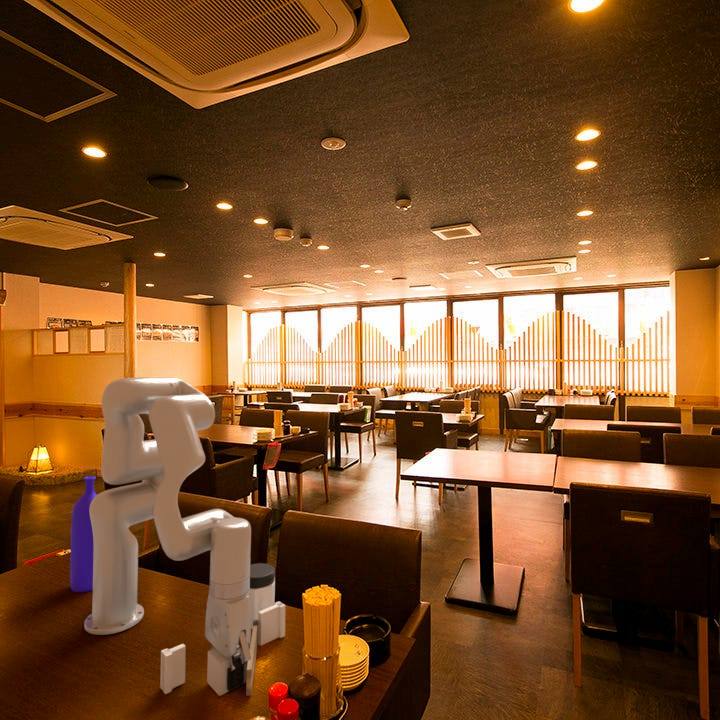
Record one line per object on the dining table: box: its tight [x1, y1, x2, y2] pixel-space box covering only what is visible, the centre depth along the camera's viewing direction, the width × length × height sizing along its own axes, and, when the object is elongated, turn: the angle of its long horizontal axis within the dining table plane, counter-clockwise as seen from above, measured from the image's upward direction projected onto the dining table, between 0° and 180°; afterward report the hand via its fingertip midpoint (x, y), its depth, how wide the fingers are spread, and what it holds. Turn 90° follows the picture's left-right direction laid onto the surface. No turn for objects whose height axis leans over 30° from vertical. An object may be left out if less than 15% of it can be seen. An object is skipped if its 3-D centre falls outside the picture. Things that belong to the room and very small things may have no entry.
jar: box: [248, 562, 276, 630], centre depth 111 cm, size 9×8×12 cm
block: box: [206, 645, 248, 697], centre depth 89 cm, size 5×6×6 cm
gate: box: [245, 620, 259, 697], centre depth 93 cm, size 1×16×5 cm, turn 9°
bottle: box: [69, 475, 98, 593], centre depth 127 cm, size 8×8×30 cm
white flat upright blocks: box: [159, 601, 286, 695], centre depth 96 cm, size 2×27×7 cm, turn 134°
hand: (227, 678), depth 88 cm, fingers closed on block, 5 cm apart
